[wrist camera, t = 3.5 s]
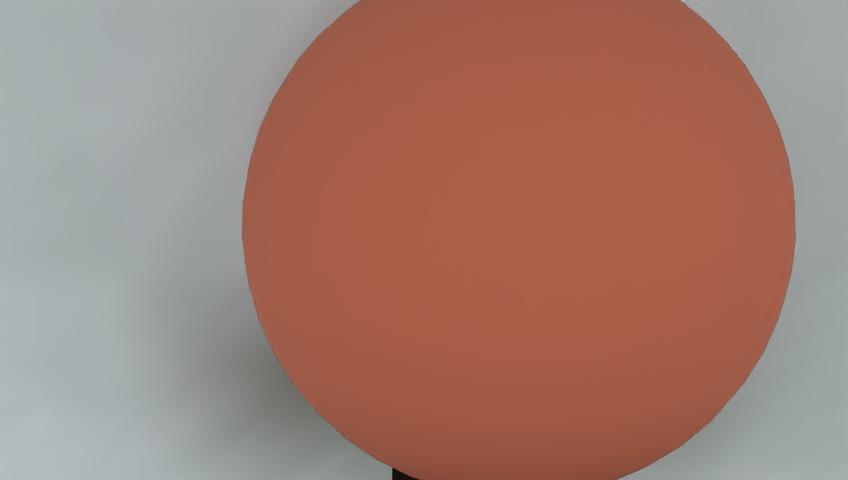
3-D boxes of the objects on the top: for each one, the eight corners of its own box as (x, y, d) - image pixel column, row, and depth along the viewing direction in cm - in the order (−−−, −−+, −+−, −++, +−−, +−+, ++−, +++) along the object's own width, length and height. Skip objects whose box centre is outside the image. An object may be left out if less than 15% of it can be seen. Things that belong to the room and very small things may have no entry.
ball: (304, 130, 11) (190, -214, 5) (624, 130, 11) (863, -201, 5) (285, 481, 9) (68, 567, 3) (674, 472, 9) (1137, 538, 3)
